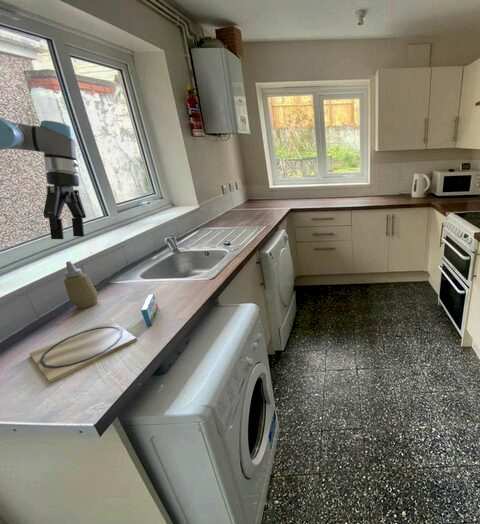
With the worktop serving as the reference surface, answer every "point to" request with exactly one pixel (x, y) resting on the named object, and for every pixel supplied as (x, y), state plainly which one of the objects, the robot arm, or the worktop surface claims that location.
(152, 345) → the worktop surface
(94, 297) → the squeeze bottle
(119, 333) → the cutting board
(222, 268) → the worktop surface
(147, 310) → the printed carton box
